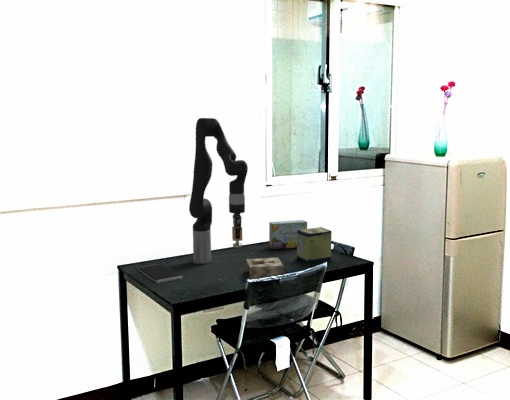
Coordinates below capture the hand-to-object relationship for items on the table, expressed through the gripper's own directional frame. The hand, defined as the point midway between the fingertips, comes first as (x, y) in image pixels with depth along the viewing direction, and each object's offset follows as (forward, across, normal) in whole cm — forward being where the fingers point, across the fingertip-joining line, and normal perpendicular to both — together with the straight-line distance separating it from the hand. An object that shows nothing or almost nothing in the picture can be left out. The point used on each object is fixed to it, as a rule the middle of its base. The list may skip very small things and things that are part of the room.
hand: (237, 237), depth 280 cm
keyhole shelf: (+19, 0, +13) cm, 23 cm away
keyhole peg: (+4, 0, 0) cm, 4 cm away
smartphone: (+20, -9, -38) cm, 44 cm away
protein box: (+19, -23, +43) cm, 52 cm away
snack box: (+19, -49, +34) cm, 63 cm away
